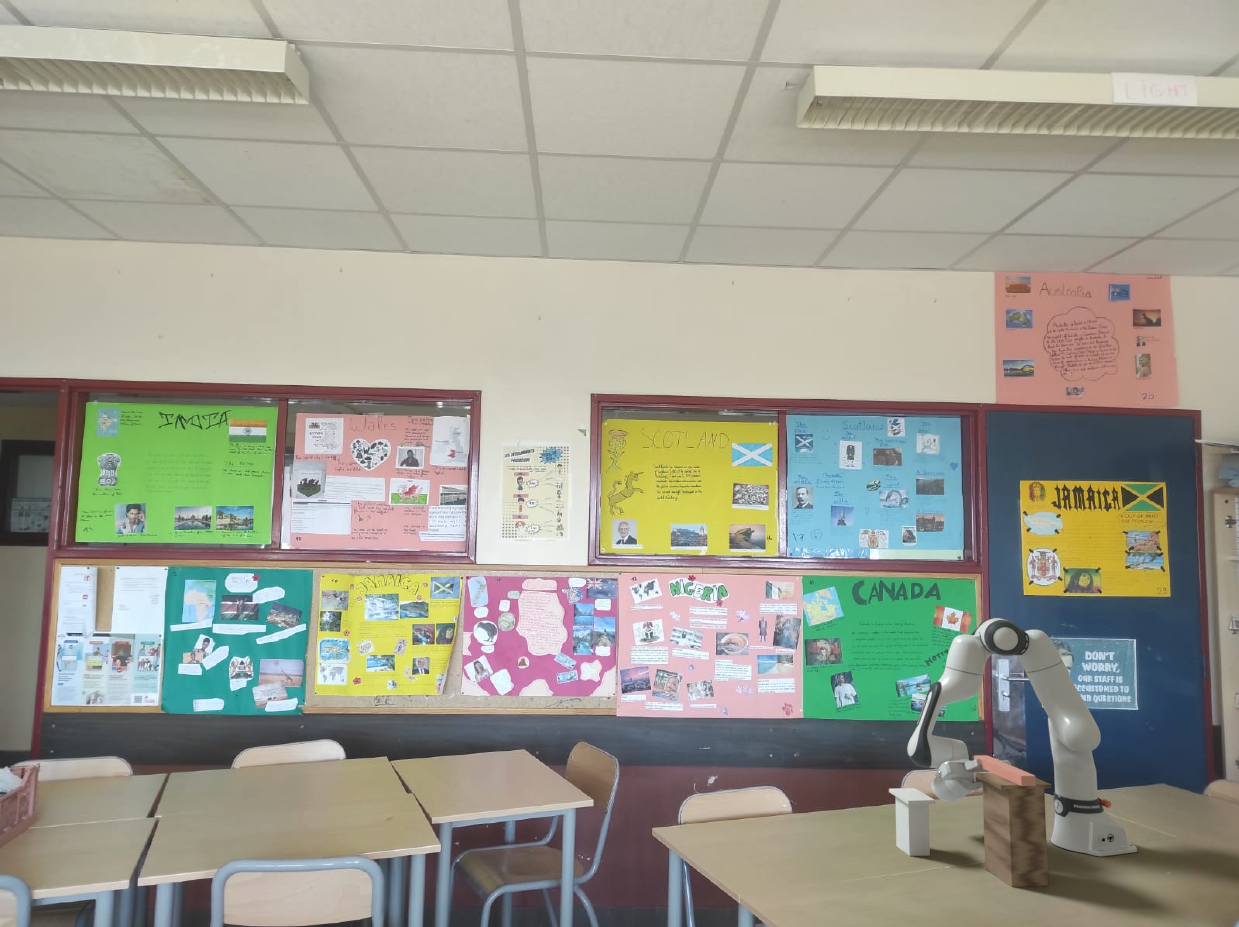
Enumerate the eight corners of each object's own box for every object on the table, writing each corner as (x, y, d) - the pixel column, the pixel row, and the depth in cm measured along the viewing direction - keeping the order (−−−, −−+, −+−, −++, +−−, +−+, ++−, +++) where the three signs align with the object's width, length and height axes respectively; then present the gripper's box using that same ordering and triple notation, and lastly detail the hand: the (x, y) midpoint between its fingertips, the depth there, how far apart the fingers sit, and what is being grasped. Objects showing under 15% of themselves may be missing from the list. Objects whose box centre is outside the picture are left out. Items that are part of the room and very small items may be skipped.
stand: (915, 843, 240) (914, 788, 242) (936, 857, 228) (935, 800, 230) (890, 843, 239) (888, 788, 241) (909, 858, 227) (908, 800, 229)
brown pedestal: (1025, 867, 223) (1021, 771, 226) (1055, 885, 210) (1051, 784, 213) (977, 868, 221) (974, 772, 224) (1004, 887, 209) (1001, 785, 211)
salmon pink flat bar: (987, 764, 233) (987, 755, 233) (1035, 785, 212) (1035, 775, 212) (974, 764, 233) (974, 755, 233) (1021, 786, 211) (1021, 776, 211)
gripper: (929, 765, 241) (950, 750, 230) (994, 764, 244) (1017, 749, 233) (935, 787, 237) (956, 773, 226) (1001, 786, 240) (1025, 772, 229)
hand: (988, 761), depth 229 cm, fingers closed on salmon pink flat bar, 4 cm apart
